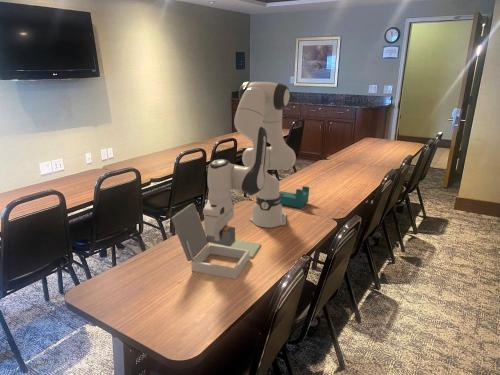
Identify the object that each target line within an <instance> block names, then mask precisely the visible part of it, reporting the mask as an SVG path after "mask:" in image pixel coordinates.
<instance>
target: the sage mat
mask: <svg viewBox="0 0 500 375" xmlns="http://www.w3.org/2000/svg"><path fill="white" fill-rule="evenodd" d="M212 244H214V245H220V244H215V243H212ZM220 246H224V245H220ZM261 246H262V244H261V243H257V242H250V241H246V240H245V241H244V240H237V239H235V242H234V243H233V244H232V245H231V246H230V247H233V248H239V249H245V250H249V259H254V256H255V255H256V253H258V250H259V249H260V247H261ZM226 247H229V246H226Z"/></svg>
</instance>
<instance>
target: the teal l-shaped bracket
mask: <svg viewBox="0 0 500 375" xmlns="http://www.w3.org/2000/svg"><path fill="white" fill-rule="evenodd" d="M295 190H296V192H295V193H294V192H288V191H284V190H283V191H282V190H279V194H280V203H281V205H282V206H288V207H293V208H297V209H302V208H304V207H305V204H307V203H309V196H310V187H309V186H306V185H303V186H302V188H301V189H299V188H296V189H295Z"/></svg>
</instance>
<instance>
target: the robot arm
mask: <svg viewBox="0 0 500 375" xmlns="http://www.w3.org/2000/svg"><path fill="white" fill-rule="evenodd" d="M290 96H291V94H290V89H289V87H288V86H287V85H286V84H283V83H280V82H279V83H276V82H272V81H251V80H250V81H245V82H243V83H242V84H241V85H240V87H239V90H238V100H239V103H238V105H237V109H236V111H235V115H234V120H233V121H234V123H233V124H234V127H235V129H236V131H237V132H238V133H239V134H241V136H243V137H245V138H247V140H250V141H251V143H252V147H248V148H245V150H244V151H243V153H242V155H241V156H242V157H241V159H242V164H243V165H244V166H243V165H238V164H235V163H234V164H233V163H231V162H230V161H229V160H228V159H223V158H221V159H214V160H212V161H211V162H210V163H209V164H208V167H207V168H208V169H207V187H208V193H207V194H208V195H207V201H206V204H205V205H204V207H203V209H202V214H203V215H204V219H203V220H204V221H203V224H204V231H205V234H206V236H207V235H208V236H215V241H219V240H220V239H221V235H219V233H220V230H221V229H222V228H223V227H224V226H229V225H228V224H229V222H230V221H231V220H232V219H233V218H234V217H235V216H234V215H235V210H234V209H235V208H234V207H235V206H234V201H233V193H232V190H234V191H236V192H243V193H244V194H248V195H252V196H253V195H256V197H255V204H254V205H252V206H253V208H252V216H251V217H250V218H249V221H250V222H252V223H253V224H254V226H255V225H256V226H258V227H261V228H267V229H268V228H276V227H280V226H286V224H287V213H286V212H284V211H283V205H282V204H281V203H280V194H279V192H280V185H281V184H280V180H279V179H278V178H277V177H275V176H274V175H272V174H269V173H268V170H269V171H270V170H271V171H272V170H273V171H274V170H276V171H277V170H278V171H279V170H281V171H282V170H288V169H292V168H293V167H294V165H295V164H296V162H297V156H296V153H295V151H294V149H293V148H291V147H290V146H289V145H288V144H287V143H286V141H285V139H284V136H283V110H284V109H285V108H286V107H287V106H288V104H289V101H290ZM267 143H268V144H270V146H267Z"/></svg>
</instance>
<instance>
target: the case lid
mask: <svg viewBox="0 0 500 375" xmlns="http://www.w3.org/2000/svg"><path fill="white" fill-rule="evenodd" d="M170 219H171V222H172V224H173V226H174V229H175V233H176V234H177V237H178V239H179V242H180V245H181V247H182V250H183V252H184V254H185V257H186V260H187V262H190V261H191V262H192V260H191V257H190V253H189V250H188V247H187V244H186V241H188V243H189V246H190V249H191V253H192V256H193V259H194V258H195V257H196V256H197V255H198V254H199V253H200V252H201V251H202V250H203V249H204V248H205V247H206V246H207V245H208V244H210V242H207V235H206V233H205V228H204V227H203V223H202V221H201V219H200V216H199V213H198V211H197V208H196V205H195V202H193V203H191V204H189V205H187V206H186V207H184V208H183V209H182V210H180V211H179V212H178V213H176V214H175V215H173V216H171V218H170Z"/></svg>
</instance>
